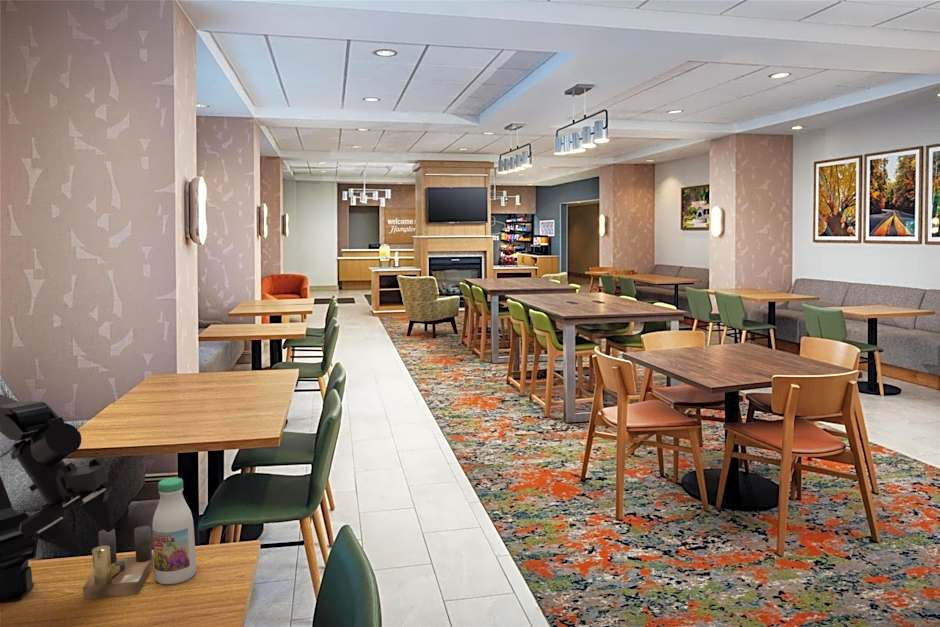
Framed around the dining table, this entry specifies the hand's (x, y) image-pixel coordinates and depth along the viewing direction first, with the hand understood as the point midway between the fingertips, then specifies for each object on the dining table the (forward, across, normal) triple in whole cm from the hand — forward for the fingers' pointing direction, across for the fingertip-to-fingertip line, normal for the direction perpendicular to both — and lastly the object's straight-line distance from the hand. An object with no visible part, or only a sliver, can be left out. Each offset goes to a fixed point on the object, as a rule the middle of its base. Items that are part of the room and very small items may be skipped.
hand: (95, 542), depth 127 cm
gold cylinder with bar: (+8, +8, +9) cm, 14 cm away
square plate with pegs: (+11, +12, +10) cm, 19 cm away
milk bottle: (+16, +15, +2) cm, 22 cm away
